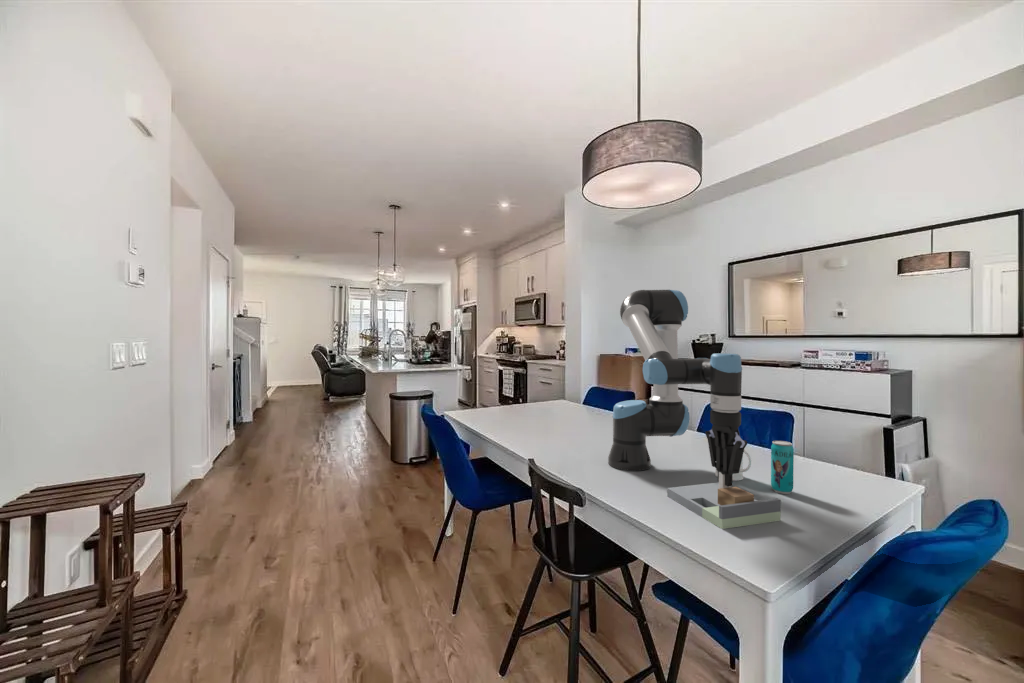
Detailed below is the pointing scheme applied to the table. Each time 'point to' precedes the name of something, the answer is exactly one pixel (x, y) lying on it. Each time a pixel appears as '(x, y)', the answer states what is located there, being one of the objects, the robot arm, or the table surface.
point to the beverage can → (782, 467)
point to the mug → (740, 475)
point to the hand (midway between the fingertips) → (724, 496)
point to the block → (733, 496)
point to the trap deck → (725, 506)
